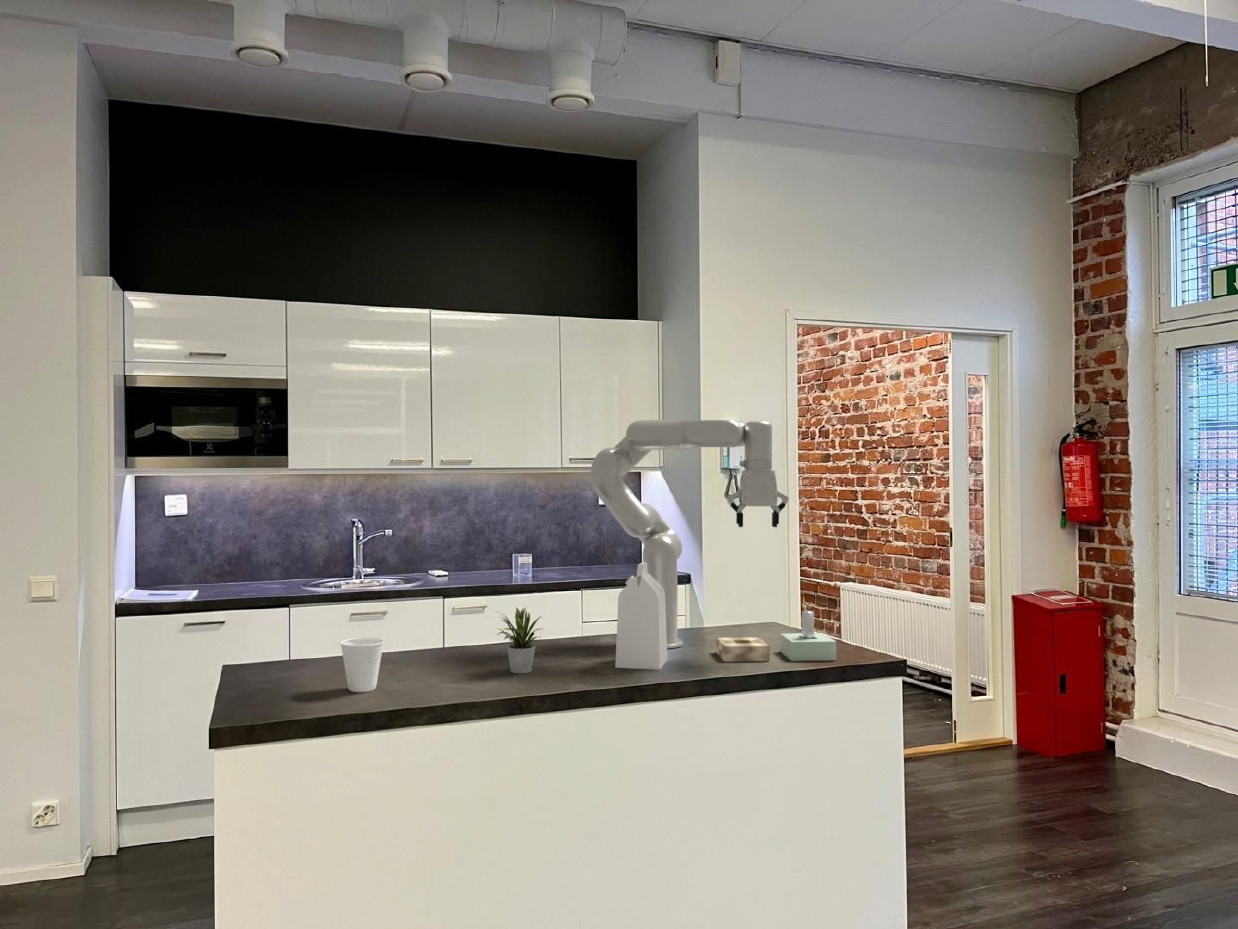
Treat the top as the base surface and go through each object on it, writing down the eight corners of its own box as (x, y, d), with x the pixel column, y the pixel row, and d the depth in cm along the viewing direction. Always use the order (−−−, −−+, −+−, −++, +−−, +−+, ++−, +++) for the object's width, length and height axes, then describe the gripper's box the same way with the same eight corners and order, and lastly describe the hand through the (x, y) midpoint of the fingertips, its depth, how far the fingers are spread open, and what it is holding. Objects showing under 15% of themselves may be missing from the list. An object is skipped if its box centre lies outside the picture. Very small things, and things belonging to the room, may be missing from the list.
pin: (803, 657, 259) (803, 612, 259) (800, 654, 262) (800, 610, 262) (815, 657, 259) (815, 612, 259) (811, 654, 262) (812, 610, 262)
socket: (791, 660, 254) (791, 642, 254) (780, 651, 266) (780, 633, 266) (836, 660, 255) (836, 641, 255) (822, 651, 267) (822, 633, 267)
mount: (724, 661, 252) (724, 646, 252) (716, 652, 264) (716, 637, 264) (769, 661, 253) (769, 646, 253) (759, 651, 265) (759, 637, 265)
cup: (388, 684, 225) (388, 637, 225) (379, 695, 215) (379, 645, 215) (345, 684, 225) (345, 637, 224) (334, 695, 215) (334, 645, 215)
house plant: (483, 666, 245) (484, 602, 245) (536, 662, 250) (536, 599, 250) (497, 678, 232) (497, 610, 231) (552, 674, 237) (552, 607, 236)
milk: (660, 669, 242) (660, 566, 242) (615, 667, 245) (616, 565, 244) (667, 659, 254) (667, 561, 254) (624, 657, 256) (625, 560, 256)
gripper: (730, 465, 263) (729, 528, 263) (792, 465, 265) (791, 528, 265) (724, 465, 271) (724, 525, 271) (785, 465, 272) (784, 526, 272)
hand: (757, 526), depth 268 cm, fingers open, 9 cm apart
